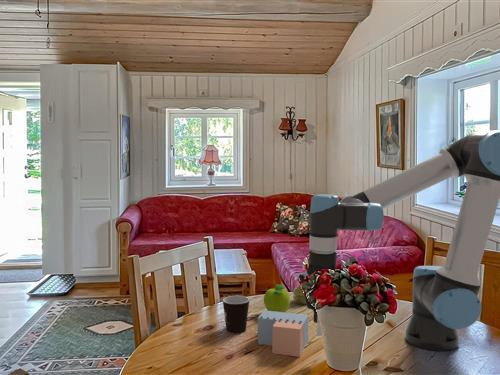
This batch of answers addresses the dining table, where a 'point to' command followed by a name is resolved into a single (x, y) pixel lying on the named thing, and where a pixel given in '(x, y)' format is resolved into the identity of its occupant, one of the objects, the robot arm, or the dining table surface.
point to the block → (288, 338)
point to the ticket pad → (268, 321)
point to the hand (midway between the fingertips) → (320, 334)
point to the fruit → (277, 299)
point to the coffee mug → (236, 313)
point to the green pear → (299, 295)
